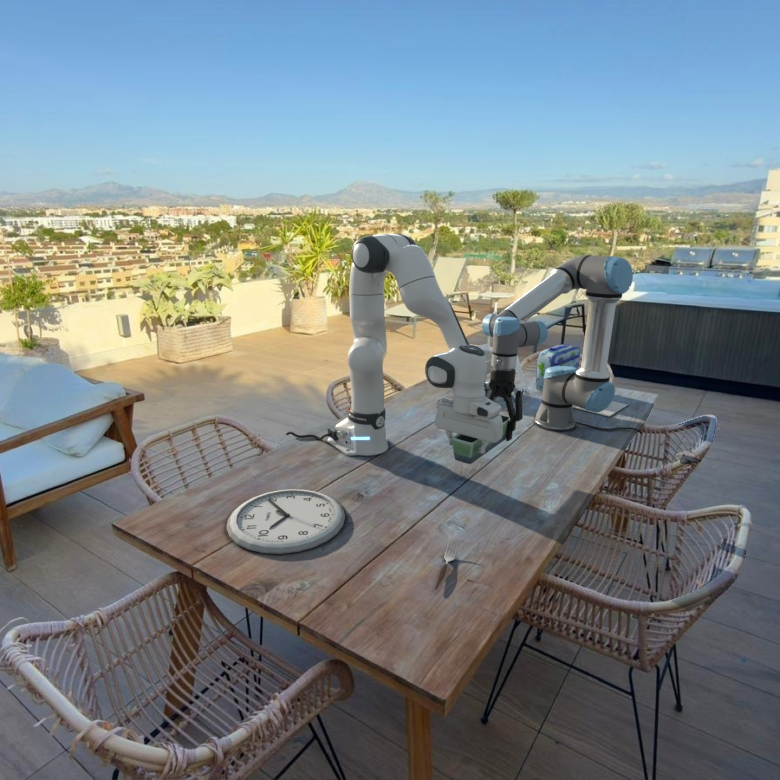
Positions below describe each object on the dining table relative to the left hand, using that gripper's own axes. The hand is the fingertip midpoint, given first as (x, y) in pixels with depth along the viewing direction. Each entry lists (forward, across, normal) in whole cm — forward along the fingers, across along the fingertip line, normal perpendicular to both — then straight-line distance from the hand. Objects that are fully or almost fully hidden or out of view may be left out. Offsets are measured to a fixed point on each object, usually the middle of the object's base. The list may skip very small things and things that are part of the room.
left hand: (466, 448), depth 151 cm
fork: (+12, +16, -37) cm, 42 cm away
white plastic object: (+12, -40, +86) cm, 96 cm away
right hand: (+3, 0, +21) cm, 21 cm away
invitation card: (+13, +11, +102) cm, 103 cm away
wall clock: (+12, -27, -45) cm, 54 cm away
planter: (+4, 0, +11) cm, 11 cm away
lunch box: (+13, -14, +114) cm, 116 cm away
